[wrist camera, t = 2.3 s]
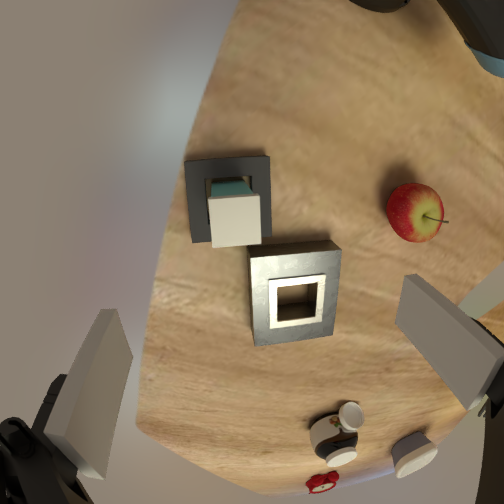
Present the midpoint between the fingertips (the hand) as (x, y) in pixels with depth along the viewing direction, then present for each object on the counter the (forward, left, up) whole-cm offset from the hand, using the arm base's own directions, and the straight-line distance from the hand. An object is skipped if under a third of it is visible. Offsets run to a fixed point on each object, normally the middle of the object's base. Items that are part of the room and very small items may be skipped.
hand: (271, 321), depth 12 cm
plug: (0, 0, -27) cm, 27 cm away
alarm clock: (+91, +22, -27) cm, 98 cm away
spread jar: (+50, +19, -27) cm, 60 cm away
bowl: (+83, +52, -27) cm, 102 cm away
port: (+14, +8, -27) cm, 31 cm away
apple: (+2, +25, -27) cm, 37 cm away
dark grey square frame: (0, 0, -27) cm, 27 cm away
